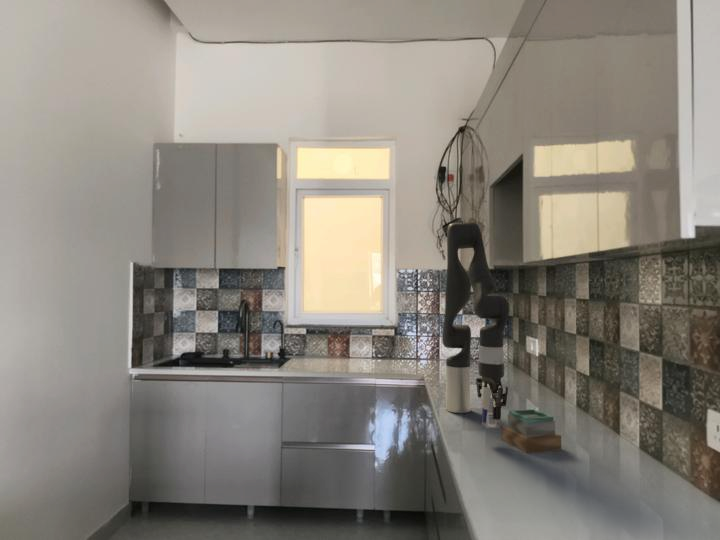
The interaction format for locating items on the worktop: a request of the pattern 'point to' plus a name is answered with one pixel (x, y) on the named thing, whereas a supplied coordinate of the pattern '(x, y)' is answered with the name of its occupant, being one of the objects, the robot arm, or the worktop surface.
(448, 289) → the robot arm
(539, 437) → the square stepped box
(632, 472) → the worktop surface
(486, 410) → the energy drink
